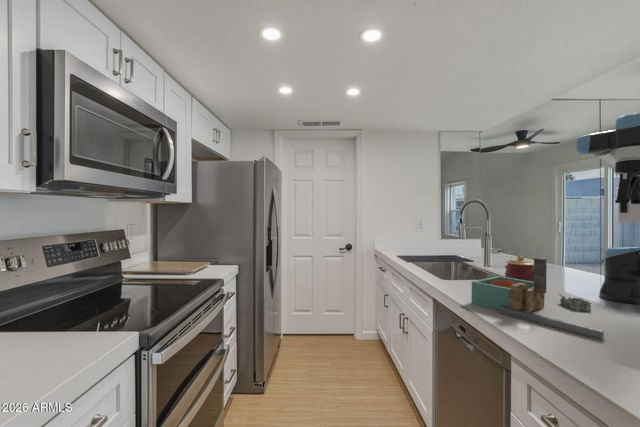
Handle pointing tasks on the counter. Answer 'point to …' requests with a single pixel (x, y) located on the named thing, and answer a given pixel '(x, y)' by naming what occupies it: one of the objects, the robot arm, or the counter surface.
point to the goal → (493, 292)
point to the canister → (520, 269)
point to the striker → (530, 290)
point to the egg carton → (576, 303)
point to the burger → (503, 283)
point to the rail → (553, 322)
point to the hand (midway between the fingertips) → (630, 222)
